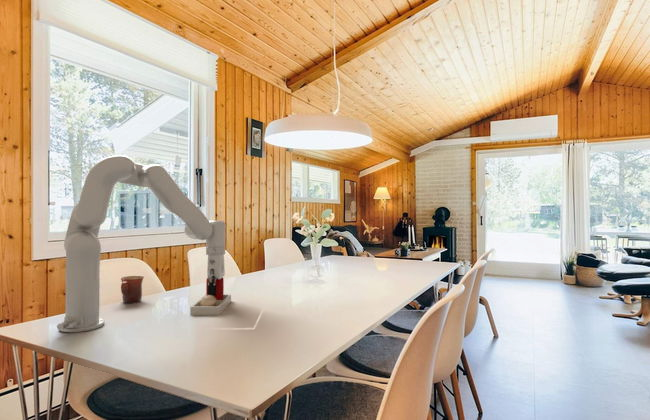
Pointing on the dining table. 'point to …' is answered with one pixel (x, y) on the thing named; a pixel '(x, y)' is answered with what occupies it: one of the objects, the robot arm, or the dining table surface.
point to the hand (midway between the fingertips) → (215, 292)
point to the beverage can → (217, 289)
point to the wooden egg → (208, 301)
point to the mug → (131, 288)
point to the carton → (210, 307)
